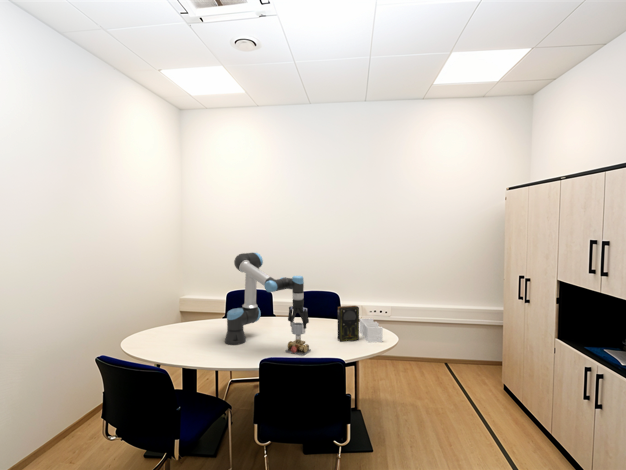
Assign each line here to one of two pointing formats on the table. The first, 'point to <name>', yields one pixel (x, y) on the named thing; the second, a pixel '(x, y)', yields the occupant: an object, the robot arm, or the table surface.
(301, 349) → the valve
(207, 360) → the table surface
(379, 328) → the storage container
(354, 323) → the voltmeter
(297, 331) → the coupling
